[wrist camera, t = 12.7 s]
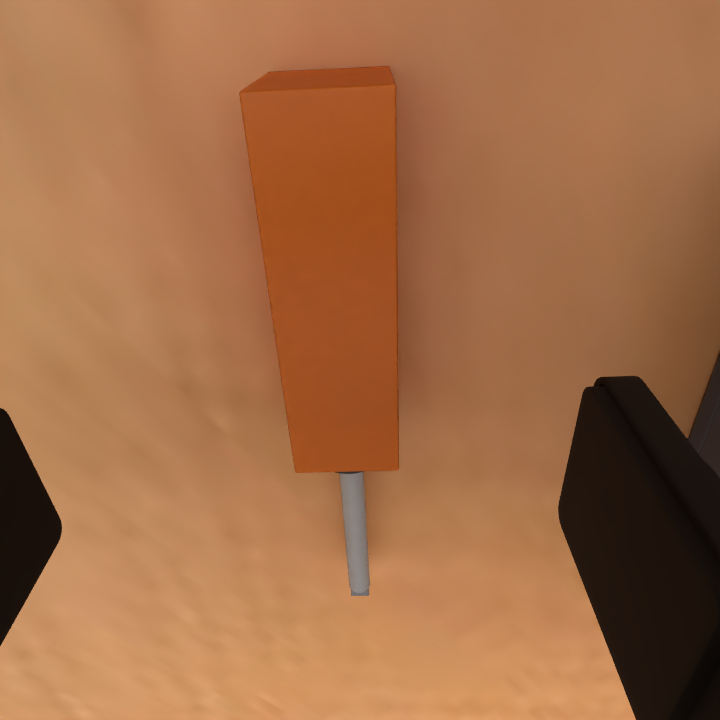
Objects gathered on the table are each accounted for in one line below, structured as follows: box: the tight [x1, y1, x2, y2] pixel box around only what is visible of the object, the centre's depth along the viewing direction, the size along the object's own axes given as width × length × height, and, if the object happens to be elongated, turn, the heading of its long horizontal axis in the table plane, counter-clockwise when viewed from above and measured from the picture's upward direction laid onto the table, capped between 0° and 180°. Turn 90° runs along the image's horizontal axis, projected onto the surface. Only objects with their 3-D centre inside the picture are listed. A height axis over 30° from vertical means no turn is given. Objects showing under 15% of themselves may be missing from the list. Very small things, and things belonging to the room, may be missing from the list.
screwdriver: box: [239, 66, 399, 596], centre depth 17 cm, size 18×3×4 cm, turn 2°
